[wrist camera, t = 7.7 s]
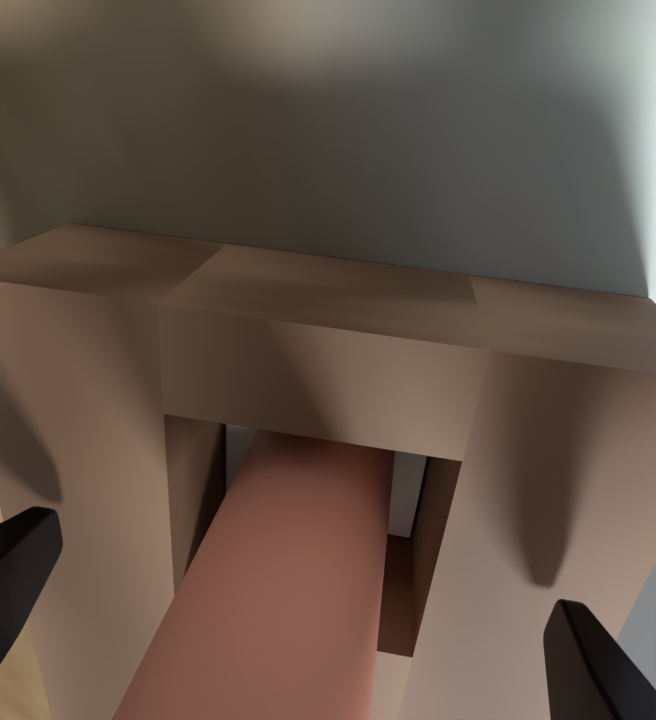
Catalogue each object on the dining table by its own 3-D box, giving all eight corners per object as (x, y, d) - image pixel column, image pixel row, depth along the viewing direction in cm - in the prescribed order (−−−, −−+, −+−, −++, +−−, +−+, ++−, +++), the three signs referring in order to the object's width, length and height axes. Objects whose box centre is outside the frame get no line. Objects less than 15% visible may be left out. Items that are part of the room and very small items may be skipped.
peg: (404, 398, 12) (359, 997, 4) (384, 510, 13) (321, 1117, 5) (263, 375, 12) (-37, 886, 4) (258, 486, 14) (25, 1025, 6)
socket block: (650, 298, 11) (746, 385, 8) (462, 783, 19) (472, 920, 16) (68, 223, 12) (-57, 273, 9) (131, 715, 20) (80, 830, 17)
